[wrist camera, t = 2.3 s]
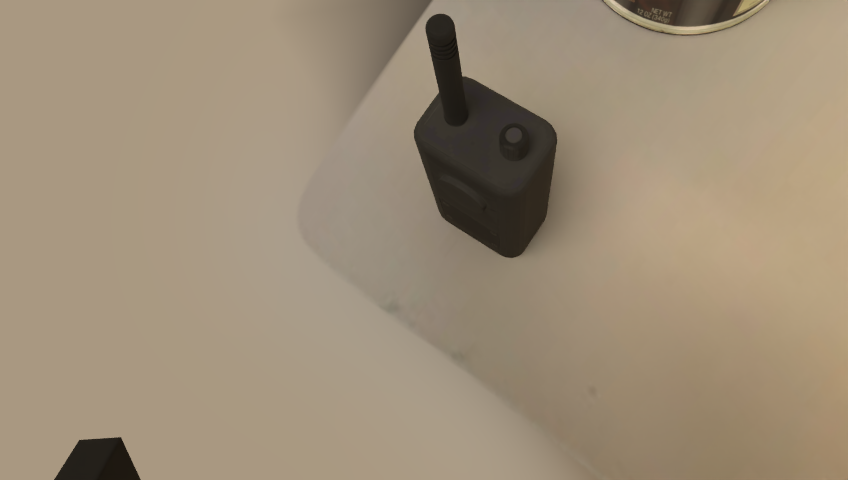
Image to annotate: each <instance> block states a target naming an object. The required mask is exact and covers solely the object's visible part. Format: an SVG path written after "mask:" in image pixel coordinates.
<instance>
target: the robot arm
mask: <svg viewBox="0 0 848 480" xmlns="http://www.w3.org/2000/svg"><path fill="white" fill-rule="evenodd" d="M54 480H140V478H139V475H138V473H137V471H136V469H135V467H134V465H133V463H132V461H131V458H130V456H129V454H128V452H127V450H126V448H125V445H124V443H123V441H122V439H121V437H120V438H119V437H118V438H104V439H88V440H79V442H78V443H77V445H76V446H75V448H74V449H73V451H72V453H71V454H70V456H69V457H68V459H67V460H66V462H65V464H64V465H63V467H62V468H61V470H60V472H59V473H58V475H57V476H56V478H55V479H54Z"/></svg>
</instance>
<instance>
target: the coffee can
mask: <svg viewBox="0 0 848 480" xmlns="http://www.w3.org/2000/svg"><path fill="white" fill-rule="evenodd" d="M603 1H604V2H605V3H606V4H607V5H608V6H609V7H610V8H612V9H613V10H614V11H615V12H617V13H618V14H620V15H621V16H622V17H624V18H626V19H627V20H629V21H631V22H633V23H635V24H637V25H640V26H642V27H645V28H647V29H651V30H654V31H659V32H664V33H670V34H682V35H691V34H703V33H710V32H714V31H718V30H722V29H725V28H728V27H731V26H733V25H736V24H738V23H740V22H742V21H744V20H745V19H747V18H749V17H750V16H752V15H753V14H755V13H756V12H758V11H759V10H760V9H761V8H762V7H763V6H765V5H766V4H767V3H768V2H769V1H770V0H603Z"/></svg>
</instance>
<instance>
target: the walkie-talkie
mask: <svg viewBox="0 0 848 480" xmlns="http://www.w3.org/2000/svg"><path fill="white" fill-rule="evenodd" d="M426 34H427V39H428V43H429V48H430V52H431V57H432V61H433V66H434V70H435V75H436V79H437V84H438V88H439V93H438V95H437V96H436V97H435V99H434V100H433V102H432V103H431V104H430V106H429V107H428V108H427V110H426V111H425V113H424V114H423V115H422V117H421V118H420V119H419V121H418V122H417V124H416V127H415V129H414V139H415V141H416V144H417V147H418V150H419V153H420V156H421V159H422V162H423V165H424V168H425V171H426V174H427V177H428V179H429V182H430V185H431V188H432V191H433V194H434V197H435V200H436V203H437V206H438V209H439V211H440V213H441V216H442V217H443V218H444V219H445V220H446V221H448V222H450V223H451V224H453V225H454V226H456V227H458V228H459V229H461V230H462V231H464V232H465V233H467V234H469V235H470V236H472V237H473V238H475V239H477V240H478V241H480V242H481V243H483V244H484V245H486V246H488V247H489V248H491V249H492V250H494V251H496V252H497V253H499V254H500V255H503V256H505V257H516V256H519V255H520V254H521V253H522V252H523V251H524V250H525V248H526V247H527V245H528V244H529V242H530V241H531V239H532V238H533V236H534V235H535V233H536V232H537V230H538V229H539V227H540V226H541V224H542V223H543V221H544V220H545V217H546V213H547V207H548V200H549V193H550V186H551V179H552V173H553V166H554V159H555V152H556V145H557V135H556V132H555V130H554V128H553V127H552V125H551V124H550V123H548V122H547V121H546V120H544V119H543V118H541V117H539V116H537V115H535V114H534V113H532V112H530V111H528V110H527V109H525V108H523V107H521V106H519V105H518V104H516V103H514V102H512V101H511V100H509V99H507V98H505V97H504V96H502V95H500V94H498V93H496V92H495V91H493V90H491V89H489V88H488V87H486V86H484V85H482V84H480V83H479V82H477V81H475V80H473V79H471V78H468V77H462V72H461V66H460V59H459V52H458V46H457V39H456V32H455V25H454V22H453V20H452V19H451V18H450V17H449V16H448V15H445V14H436V15H434V16H432V17H431V18H430V19H429V20H428V21H427V24H426Z"/></svg>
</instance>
